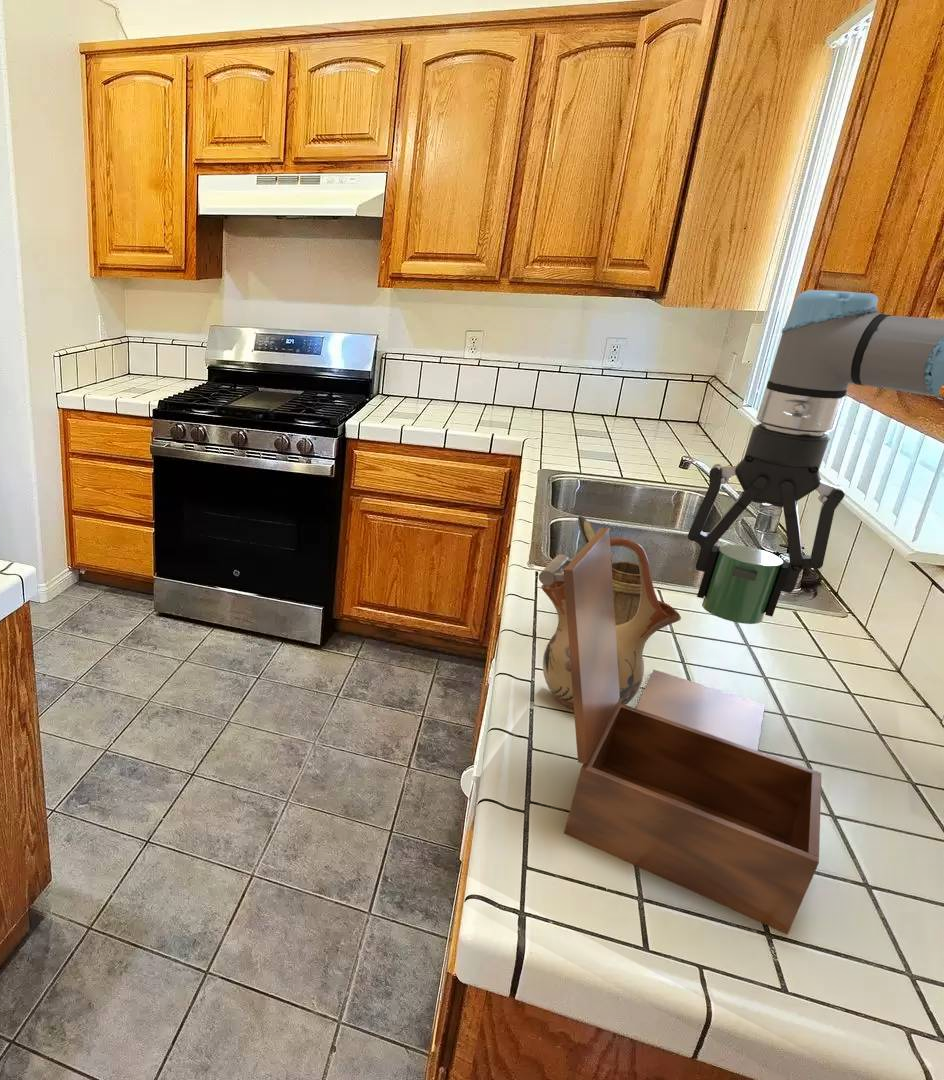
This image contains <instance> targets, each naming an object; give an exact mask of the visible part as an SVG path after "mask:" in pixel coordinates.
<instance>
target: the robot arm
mask: <svg viewBox="0 0 944 1080" xmlns="http://www.w3.org/2000/svg"><path fill="white" fill-rule="evenodd" d="M878 303H879V297H878V296H877V295H876V294H875V293H868V292H855V291H845V290H844V291H843V290H824V289H809V290H804V291H803V292H801V293H800V294H798V295H796V298H795V299H794V301H793V303H792V306H791V309H790V311H789V314H788V317H787V320H786V322H785V324H784V327H783V328H782V329H781V336H780V340H779V344H778V347H777V350H776V352H775V353H776V354H775V357H774V361H773V364H772V368H771V371H770V374H769V377H768V380H767V383H766V386H765V388H764V392H763V395H762V399H761V402H760V405H759V408H758V411H757V415H756V420H757V421H758V422H759V424H756V425H755V426H754V427H752V430H751V434H750V437H749V440H748V443H747V447H746V449H745V453H744V456H743V458H742V460H741V461H740V462H738V463H737V465H722V464H719V463H717V464H714V465H713V466H711V469H710V470H709V475H708V477H709V481H708V482H709V486H708V488H707V489H706V490H707V491H706V493H705V495H704V497H703V498H702V499H703V500H702V501H701V504H700V507H699V509H698V511H697V513H696V515H695V517H694V520H693V523H692V524H691V527H690V529H689V531H688V533H687V539H688V540H690V541H691V542H695V543H696V544H698V545H699V546H700V550H699V553H698V557H697V559H696V564H695V570H696V571H699V572H703V575H702V578H701V582H700V584H699V589H698V592H697V595H696V597H697V598H699V599H704V596H705V593H706V589H707V586H708V583H709V580H710V577H711V573H712V570H713V567H714V564H715V561H716V557H717V554H718V551H719V548H720V547H721V546H718V545H716V543H717V542H718V541H719V540H720V539H721V538H722V537H723V535H725V533H726V532H727V531H728V529H729V528H731V526H732V525H733V524H734V523H735V522H736V520H737V519H738V518H739V516H741V514H742V513H743V512H744V511H745V510H746V509H747V508H748V507H749V505H750V504H751V503H755V504H756V503H757V504H769V505H772V506H773V507H777V508H782V509H783V516H784V521H785V532H786V540H787V541H786V542H787V550H788V557H789V558H788V559H789V561H784V560H782V561H783V564H782V567H781V570H780V572H779V575H778V578H777V581H776V584H775V587H774V590H773V593H772V595H771V598H770V601H769V604H768V607H767V610H766V613H765V616H767V617H771V618H773V617H774V613H775V610H776V607H777V605H778V602H779V599H780V596H781V593H782V592H785V593H788V594H789V593H790V594H791V593H792V592H793V591H794V590H795V587H796V585H797V582H798V580H799V577H800V574H801V572H802V571H803V570H806V569H814V570H819V569H822V567H823V566H824V562H825V556H826V553H827V552H826V551H827V547H828V543H829V538H830V534H831V529H832V525H833V519H834V516H835V511H836V509H837V508H838V506H839V505H840V503H841V502H842V501H843V499H844V498H845V495H846V492H845V491H846V490H845V488H844V486H842V485H833V484H830V483H828V482H825V481H823V480H821V475H820V469H821V466H822V463H823V461H824V458H825V454H826V452H827V449H828V445H829V444H830V440H831V438H830V437H829V435H828V434H827V433H829V432H832V431H833V430H834V429H835V427H836V424H837V420H838V418H839V416H840V415H839V414H840V412H841V409H842V407H843V403H844V401H845V397H846V395H847V393H848V388H849V386H850V385H851V384H853V385H855V386H868V387H872V388H873V387H874V388H880V389H885V390H892V391H898V392H904V393H911V394H917V395H923V396H928V397H935V398H936V399H938V400H943V399H942V398H941V397H940V396H939V395H938V394H937V393H938V391H939V390H940V388H941V387H942V385H943V384H944V318H933V317H919V316H904V315H903V316H901V315H893V314H886V313H882V312H878V310H879V308H878ZM733 476H736V478H737V481H738V482H739V484H740V486H741V489H742V492H741V494H740V495H739V496H738V497H737V499H736V500H735V501H734V502H733V503H732V504H731V506H730V507H729V508H728V509H727V511H725V512H724V514H723V515H722V517H720V519H719V520H718V521H717V523H716V524H715V525H714V526H713V527H712V529H711V530H710V531H708V533H706V532H704V531H703V529H704V527H705V525H706V522H707V521H708V518H709V515H710V514H711V511H712V510H713V507H714V504H715V502H716V501H717V498H718V496H719V493H720V491H721V489H722V487H723V485H725V484H728V483H729V481H730V480H731V478H732V477H733ZM814 491H817V493H818V501H819V502H821V506H820V511H819V516H818V519H817V526H816V530H815V534H814V539H813V544H812V549H811V554H805V555H804V554H803V553H804V552H803V544H802V543H803V542H802V536H801V535H802V534H801V525H800V516H799V506H798V501H800V500H802V499H803V498H804V497H806V496H808V495H809V494H811V493H812V492H814Z"/></svg>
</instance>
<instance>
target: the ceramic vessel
mask: <svg viewBox="0 0 944 1080" xmlns="http://www.w3.org/2000/svg"><path fill="white" fill-rule="evenodd" d="M610 547H611V548H612V547H623V548H626V549H628V550H630V551H632V552H633V553H634V554H635V556H636V559H637V564H639V569H640V577H641V596H640V603H639V607H638V611H637V613H636V615H635V616H634V618H633V619H631V620H630V621H628V622H626V623H624V624H620V625H615V628H616V644H617V660H618V676H619V692H620V698H619V700H618V702H619V703H621V704H624V705H628V704H629V703H630V702H631V701H632V700H634V698H635V697H636V696H637V694H638V692H639V691H640V688H641V686H642V683H643V680H644V674H645V662H644V654H643V653H644V649H645V645H646V643H647V641H648V639H650V638H651V636H652V635H654V634H655V633H657V632H658V631H659V630H661V629H663V628H665V627H668V626H669V625H672V624H675V623H677V622H679V621H681V620H682V616H681V615H680V613H679V612H678V611H677V610H676V609H675V608H674V607H672V605H670V604H668V603H666V602H664V601H662V600H659V599H658V597H657V595H656V591H655V587H654V583H653V579H652V574H651V568H650V563H649V559H648V556H647V553H646V551H645V549H644V548H643V547H642V546H641V545H640V544H639V543H638V542H636V541H634V540H632V539H630V538H627V537H612V538H611V537H610ZM540 588H541V590H542V591H543V593H545V595H546V596H547V597H548V598H549V600H550V601H551V603H552V605H553V606H554V609H555V610H556V613H557V627H556V630H555V632H554V633H553V635H552V636H551V638H550V639H549V641H548V642H547V644H546V645H545V649H544V653H543V657H542V671H543V672H542V673H543V677H544V681H545V683H546V685H547V688H548V689H549V691H550V693H551V694H552V695H553V696H554V698H556V700H557V701H558V702H559V703H560V704H562V705H564V706H565V707H568V708H569V709H572V710H574V703H573V690H572V677H571V664H570V651H569V638H568V625H567V612H566V598H565V585H564V581H555V582H554V583H553V584H551V585H544V584H542V585H541V586H540Z"/></svg>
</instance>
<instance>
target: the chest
mask: <svg viewBox="0 0 944 1080" xmlns="http://www.w3.org/2000/svg"><path fill="white" fill-rule="evenodd" d="M821 803H822V772H820V771H816V770H815V769H812V768H809V767H806V766H803V765H800V764H798V763H794V762H791V761H789V760H785V759H784V758H780V757H777V756H774V755H771V754H768V753H766V752H762V751H759V750H758V751H757V750H754V749H751V748H748V747H745V746H743V745H740V744H737V743H734V742H731V741H728V740H725V739H722V738H719V737H717V736H714V735H711V734H708V733H705V732H702V731H699V730H696V729H694V728H691V727H688V726H685V725H682V724H679V723H676V722H673V721H670V720H668V719H665V718H662V717H659V716H656V715H653V714H650V713H647V712H644V711H642V710H639V709H636V707H633V706H630V705H628V704H626V705H624V704H621V703H619V702H617V704H616V706H615V708H614V710H613V712H612V714H611V716H610V718H609V720H608V722H607V724H606V726H605V728H604V730H603V732H602V734H601V736H600V738H599V740H598V742H597V744H596V746H595V748H594V750H593V752H592V754H591V756H590V758H589V760H588V762H587V764H584V763H582V765H581V768H580V771H579V775H578V779H577V782H576V786H575V789H574V793H573V798H572V801H571V804H570V808H569V812H568V816H567V820H566V823H565V827H564V831H563V834H564V835H566V836H568V837H571V838H573V839H575V840H578V841H579V842H581V843H584V844H587V845H589V846H591V847H593V848H594V849H597V850H599V851H601V852H604V853H606V854H608V855H611V856H613V857H615V858H617V859H620V860H622V861H624V862H626V863H628V864H631V865H633V866H635V867H637V868H639V869H642V870H644V871H646V872H648V873H650V874H653V875H655V876H658V877H659V878H661V879H663V880H666V881H668V882H670V883H673V884H674V885H677V886H680V887H681V888H684V889H686V890H688V891H690V892H692V893H695V894H697V895H699V896H702V897H704V898H706V899H708V900H710V901H713V902H714V903H717V904H719V905H720V906H724V907H725V908H727V909H729V910H732V911H734V912H737V913H739V914H741V915H743V916H745V917H748V918H750V919H752V920H754V921H757V922H758V923H761V924H763V925H766V926H768V927H770V928H772V929H774V930H777V931H778V932H782V933H783V934H784V935H785V934H786V935H789V933H790V930H791V928H792V926H793V924H794V921H795V920H796V916H797V914H798V912H799V909H800V907H801V905H802V903H803V901H804V898H805V896H806V893H807V892H808V889H809V887H810V884H811V882H812V880H813V878H814V875H815V873H816V871H817V868H818V866H819V864H820V843H821V841H820V840H821V839H820V838H821V808H822V807H821V806H822V805H821Z"/></svg>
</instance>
